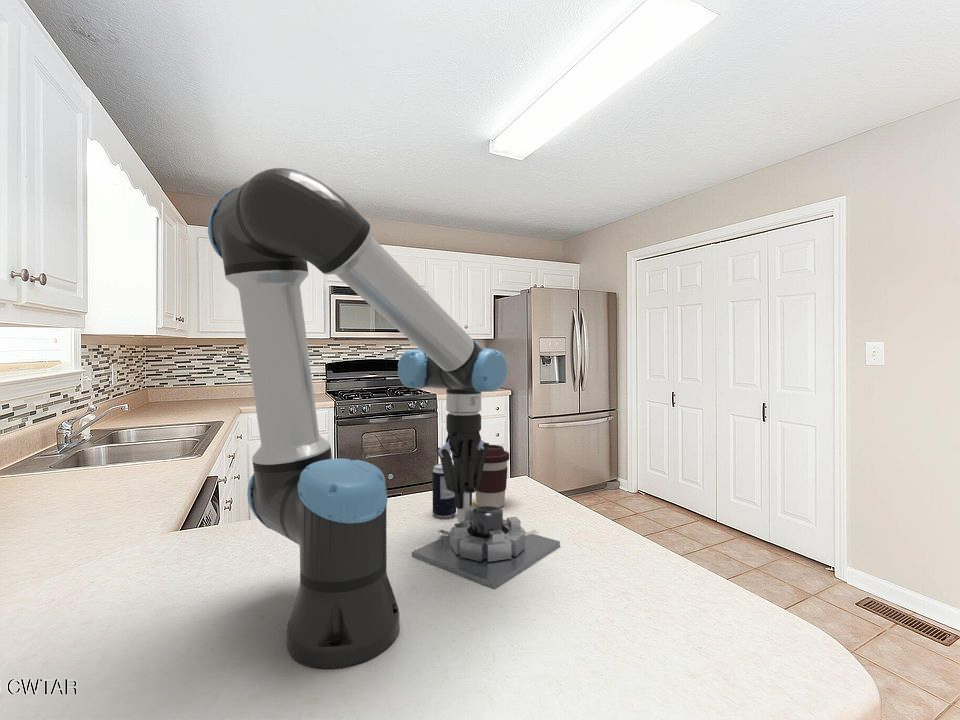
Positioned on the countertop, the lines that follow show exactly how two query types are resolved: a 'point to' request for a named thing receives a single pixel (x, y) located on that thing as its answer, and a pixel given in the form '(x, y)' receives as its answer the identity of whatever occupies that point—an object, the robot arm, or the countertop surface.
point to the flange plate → (485, 571)
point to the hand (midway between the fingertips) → (463, 522)
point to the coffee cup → (493, 478)
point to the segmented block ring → (488, 540)
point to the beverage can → (442, 495)
